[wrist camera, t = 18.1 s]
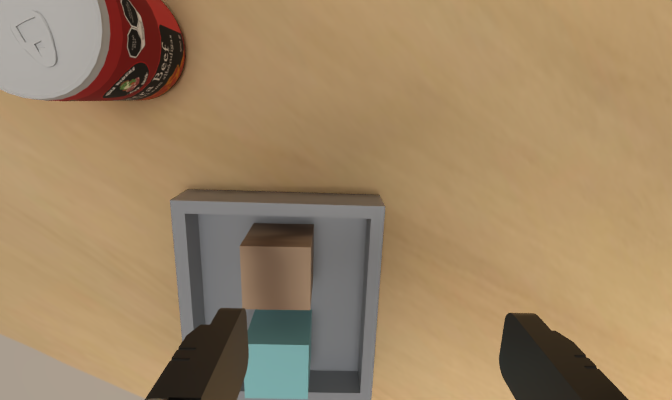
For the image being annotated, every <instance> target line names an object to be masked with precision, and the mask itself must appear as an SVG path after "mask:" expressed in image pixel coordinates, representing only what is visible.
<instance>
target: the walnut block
mask: <svg viewBox="0 0 672 400" xmlns="http://www.w3.org/2000/svg"><path fill="white" fill-rule="evenodd" d="M313 257H314V224H275V223H254V224H253V225H252V227H251V228H250V230H249V232H248V233H247V235H246V237H245V238H244V240H243V241H242V243H241V245H240V266H241V288H242V308H245V309H259V310H310V308H311V298H312V287H313Z"/></svg>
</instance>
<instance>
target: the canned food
mask: <svg viewBox="0 0 672 400" xmlns="http://www.w3.org/2000/svg"><path fill="white" fill-rule="evenodd" d="M184 60H185V45H184V41H183V36H182V33H181V31H180V28H179V26H178V24H177V22H176V20H175V18H174V17H173V15H172V13H171V12H170V10H169V9H168V8H167V7H166V6H165V4H164V3H163V2H162V1H161V0H0V89H1V90H3V91H5V92H7V93H10V94H13V95H16V96H19V97H23V98H30V99H36V100H46V101H117V100H147V99H152V98H155V97H158V96H160V95H162V94H163V93H165V92H167V91H168V90H169V89H170V88H171V87H172V86H173V85H174V84H175V83H176V81H177V79H178V78H179V76H180V75H181V72H182V69H183V66H184Z"/></svg>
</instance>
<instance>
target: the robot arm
mask: <svg viewBox="0 0 672 400" xmlns="http://www.w3.org/2000/svg"><path fill="white" fill-rule="evenodd" d="M248 358H249V348H248V331H247V315H246V310H245V308H220V309H219V310H218V311H217V313H216V315H215V317H214V318H213V320H212V322H211V324H210V325H204V324H201V325H199V326H198V327H197V328H195V329H194V330H193V331H191V332H190V333H189V334H188V335H187V336H186V337H185V339H184V340H183V342H182V343H181V345H180V346H179V349H178V350H177V351H176V352H175V354H174V356H173V357H172V360H171V361H170V362H169V363H168V365H167V366H166V368H165V369H164V371H163V373H162V374H161V376H160V377H159V379H158V380H157V382H156V383H155V385H154V386H153V388H152V390H151V391H150V393H149V394H148V396H147V397H146V399H145V400H237V398H238V395H239V392H240V390H241V387H242V384H243V381H244V378H245V375H246V371H247V367H248ZM499 364H500V370H501V373H502V376H503V378H504V380H505V382H506V384H507V385H508V387H509V389H510V391H511V392H512V394H513V396H514V397H515V399H516V400H628V399H627V398H626V397H625V396H624V395H623V394H622V392H621V391H620V390H619V389H618V388H617V387H616V386H615V385H614V384H613V383H612V382H611V381H610V380H609V379H608V378H607V377H606V376H605V375H604V374H603V373H602V372H601V371H600V370H599V369H597V368H596V365H595V364H594V363H593V362H592V361H591V360H590V359H589V358H586V355H585V354H584V353H583V352H582V351H581V350H580V349H579V348H578V347H577V346H576V345H575V343H574V342H572V341H571V340H569V339H568V338H566V337H564V336H563V335H561V334H560V333H558V332H557V331H551V330H550V329H549V327H548V326H547V325H546V324H545V323H544V322H543V321H542V320H541V319H540V318H539V316H537V315H536V314H534V313H508V314H507V315H506V318H505V322H504V329H503V335H502V342H501V348H500V355H499Z"/></svg>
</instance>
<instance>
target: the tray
mask: <svg viewBox="0 0 672 400" xmlns="http://www.w3.org/2000/svg"><path fill="white" fill-rule="evenodd" d="M170 206H171V217H172V229H173V240H174V252H175V263H176V275H177V286H178V297H179V309H180V320H181V332H182V342H183V340H184V339H185V337H186V336H187V335H188V334H189V333H190V332H191V331H193V330H194V329H195V328H197V327H198V326H199V325H201V324H204V325H210V324H211V322H212V320H213V318H214V317H215V315H216V313H217V311H218V310H219V309H220V308H242V288H241V266H240V245H241V243H242V241H243V240H244V238H245V237H246V235H247V233H248V232H249V230H250V228H251V227H252V225H253V224H254V223H275V224H314V257H313V287H312V298H311V308H310V309H312V329H311V363H310V377H309V390H308V399H265V398H245V389H244V381H243V384H242V387H241V390H240V392H239V395H238V398H237V400H371V396H372V382H373V368H374V355H375V341H376V327H377V313H378V299H379V286H380V272H381V258H382V244H383V230H384V216H385V205H384V203H383V201H382V199H381V197H380V195H368V194H334V193H300V192H266V191H232V190H198V189H187V190H186V191H184V192H182V193H181V194H179V195H178V196H176V197H174V198H173V199H171V200H170ZM245 310H246V315H247V331H248V328H249V325H250V322H251V320H252V317H253V314H254V311H255V309H245Z"/></svg>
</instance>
